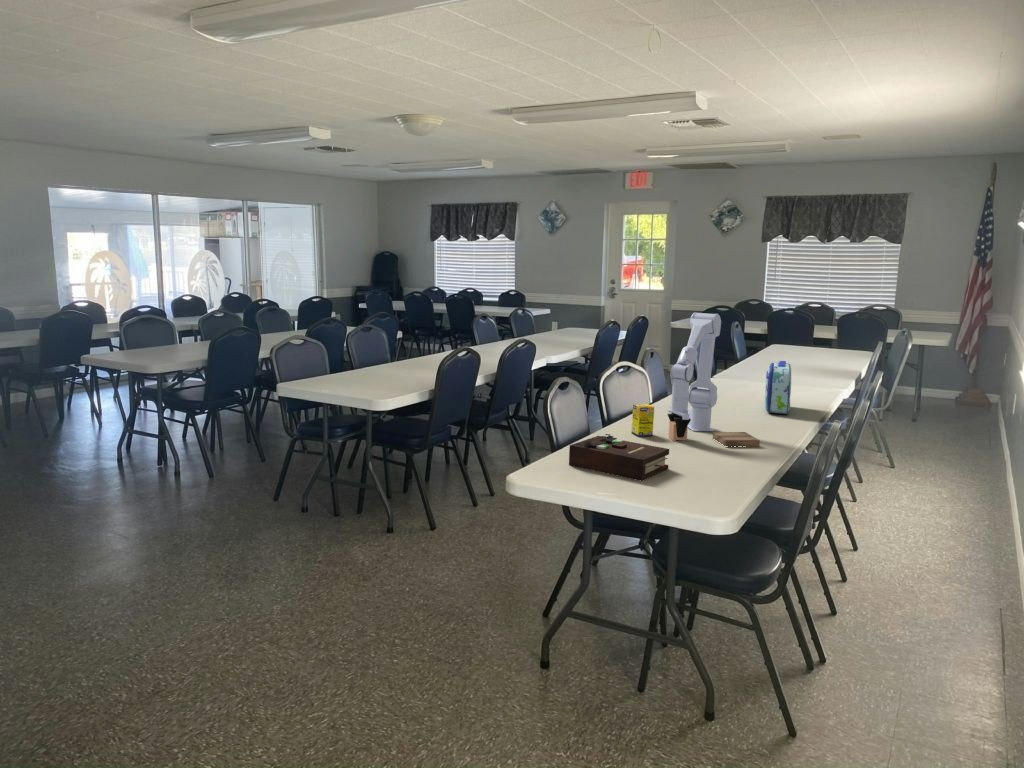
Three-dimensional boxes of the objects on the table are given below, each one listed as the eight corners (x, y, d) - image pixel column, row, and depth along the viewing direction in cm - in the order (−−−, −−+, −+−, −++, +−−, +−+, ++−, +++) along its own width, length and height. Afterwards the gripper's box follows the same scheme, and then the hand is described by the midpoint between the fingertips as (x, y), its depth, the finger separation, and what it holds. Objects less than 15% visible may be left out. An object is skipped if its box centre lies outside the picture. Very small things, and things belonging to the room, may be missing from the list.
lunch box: (764, 404, 340) (768, 357, 336) (789, 406, 336) (793, 359, 333) (762, 414, 316) (766, 365, 312) (789, 417, 312) (793, 367, 309)
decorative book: (648, 459, 214) (561, 441, 232) (647, 485, 216) (560, 465, 234) (678, 446, 229) (593, 431, 247) (677, 470, 231) (592, 453, 249)
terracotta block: (668, 437, 272) (669, 421, 271) (682, 437, 272) (683, 421, 271) (673, 440, 267) (674, 424, 266) (686, 440, 267) (687, 424, 266)
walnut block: (712, 440, 271) (713, 432, 271) (744, 440, 273) (745, 432, 272) (725, 448, 259) (726, 440, 259) (758, 448, 261) (759, 440, 260)
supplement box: (638, 437, 271) (639, 407, 270) (631, 433, 277) (632, 404, 275) (653, 436, 273) (654, 406, 271) (645, 432, 279) (647, 403, 277)
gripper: (662, 394, 274) (660, 430, 276) (675, 401, 259) (673, 440, 262) (681, 394, 274) (679, 430, 277) (695, 401, 260) (693, 440, 263)
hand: (677, 435), depth 269 cm, fingers closed on terracotta block, 5 cm apart
